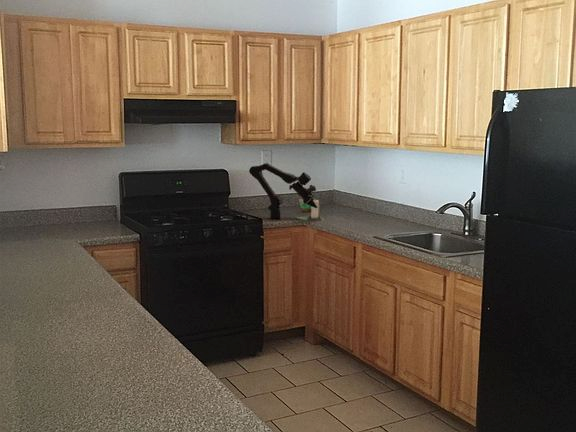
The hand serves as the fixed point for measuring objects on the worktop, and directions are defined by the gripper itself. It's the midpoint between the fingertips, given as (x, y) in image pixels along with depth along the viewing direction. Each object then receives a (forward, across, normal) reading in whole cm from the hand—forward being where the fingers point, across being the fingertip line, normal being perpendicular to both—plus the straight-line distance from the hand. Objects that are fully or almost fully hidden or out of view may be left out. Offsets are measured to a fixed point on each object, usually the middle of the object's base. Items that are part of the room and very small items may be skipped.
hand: (316, 206), depth 429 cm
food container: (+1, +31, +12) cm, 34 cm away
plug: (+5, 0, +7) cm, 8 cm away
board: (+4, +2, +9) cm, 10 cm away
